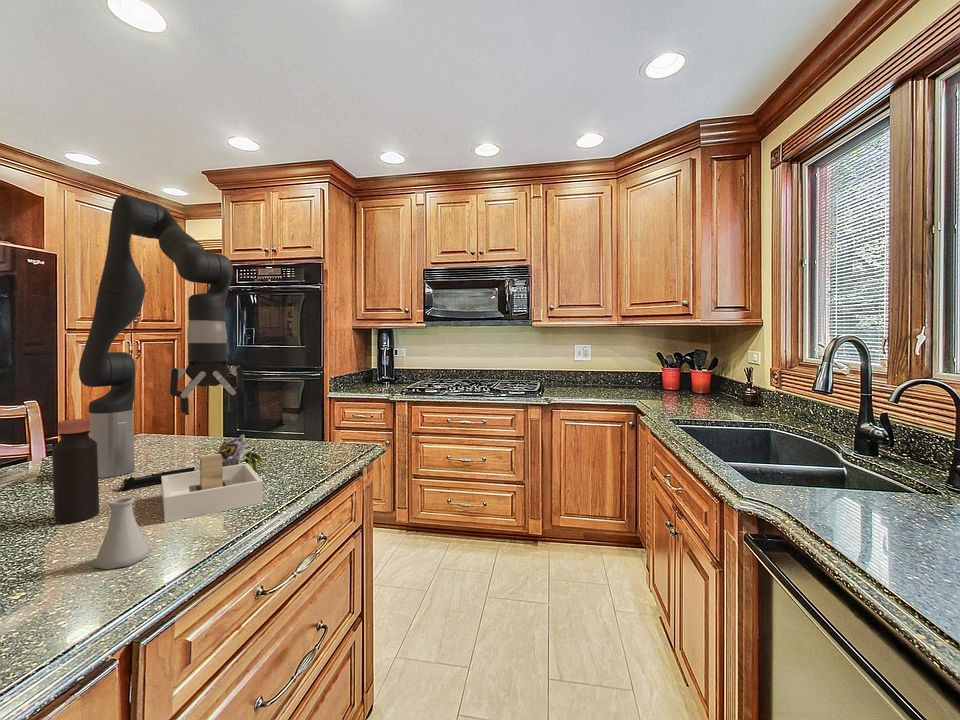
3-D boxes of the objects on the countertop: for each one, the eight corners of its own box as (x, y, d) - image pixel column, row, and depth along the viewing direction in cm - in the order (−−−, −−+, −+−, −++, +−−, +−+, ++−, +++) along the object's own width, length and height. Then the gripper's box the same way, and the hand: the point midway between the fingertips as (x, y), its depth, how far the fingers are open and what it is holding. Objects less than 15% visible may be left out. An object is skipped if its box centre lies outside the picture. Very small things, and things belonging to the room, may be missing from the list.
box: (161, 497, 102) (161, 476, 102) (248, 482, 113) (247, 463, 113) (164, 522, 88) (164, 498, 87) (263, 502, 99) (262, 480, 98)
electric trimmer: (196, 479, 117) (196, 467, 117) (121, 493, 105) (121, 480, 105) (192, 476, 119) (192, 465, 119) (119, 489, 108) (119, 476, 108)
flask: (116, 550, 76) (114, 493, 76) (160, 548, 77) (158, 492, 76) (82, 571, 69) (79, 509, 69) (130, 570, 70) (128, 508, 69)
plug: (200, 495, 101) (199, 456, 100) (220, 491, 103) (219, 453, 103) (202, 500, 97) (201, 460, 97) (223, 496, 100) (222, 457, 99)
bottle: (107, 510, 94) (104, 417, 93) (84, 523, 87) (81, 423, 87) (71, 512, 93) (67, 418, 92) (45, 525, 86) (41, 424, 85)
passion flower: (226, 493, 121) (199, 458, 120) (254, 474, 131) (229, 442, 130) (252, 474, 117) (224, 438, 116) (278, 456, 128) (253, 423, 127)
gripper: (240, 341, 106) (241, 408, 107) (168, 341, 98) (169, 413, 98) (245, 341, 100) (247, 412, 101) (169, 341, 92) (171, 418, 92)
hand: (209, 412), depth 100 cm, fingers open, 8 cm apart
